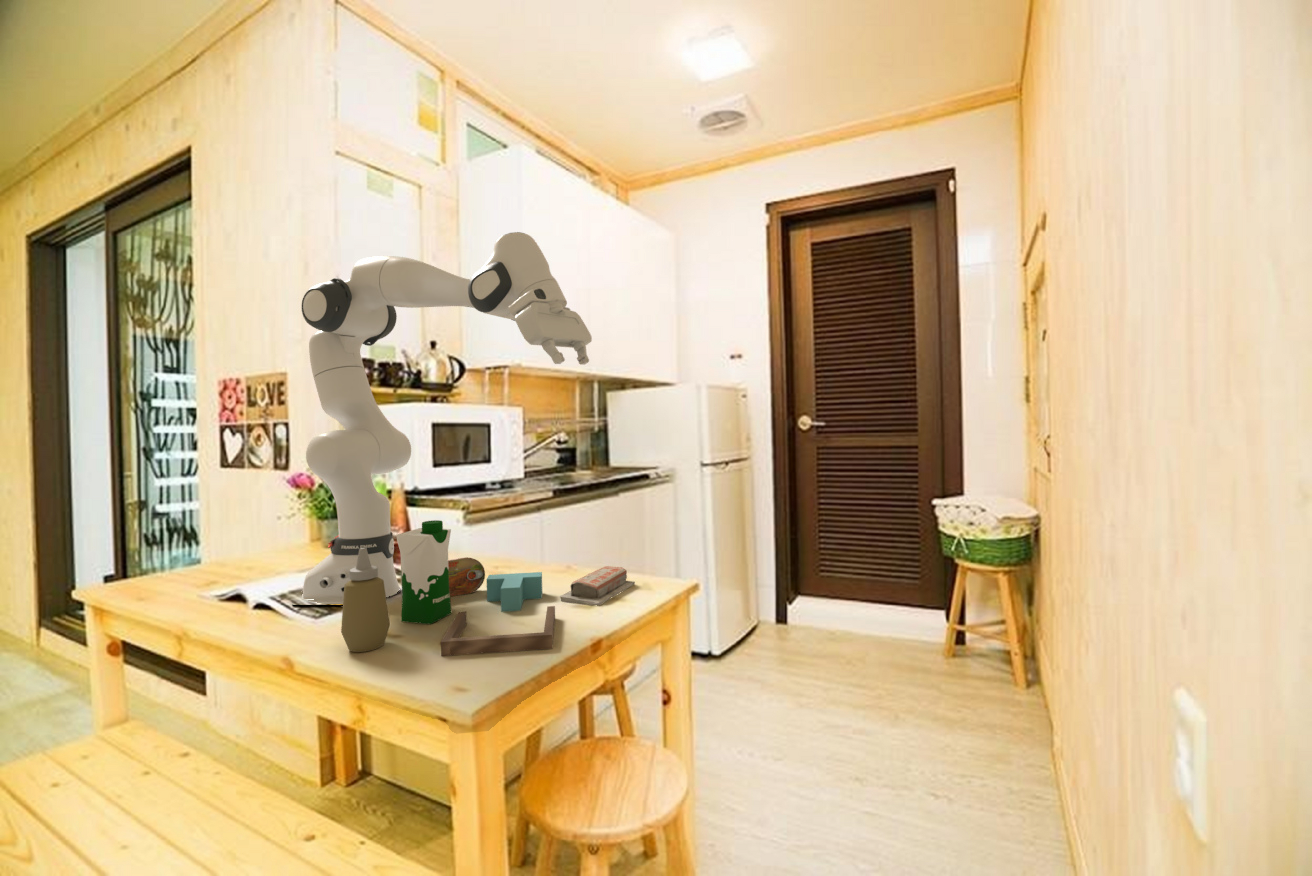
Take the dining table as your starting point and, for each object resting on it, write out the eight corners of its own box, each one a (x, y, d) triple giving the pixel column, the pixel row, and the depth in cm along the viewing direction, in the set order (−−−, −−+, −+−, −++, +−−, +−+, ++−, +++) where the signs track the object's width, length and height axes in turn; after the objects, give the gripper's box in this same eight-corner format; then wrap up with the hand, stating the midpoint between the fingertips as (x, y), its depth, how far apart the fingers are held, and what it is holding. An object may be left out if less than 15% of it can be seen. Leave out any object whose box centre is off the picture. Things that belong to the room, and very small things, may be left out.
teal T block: (481, 612, 130) (481, 589, 129) (489, 596, 141) (488, 574, 141) (539, 609, 131) (538, 586, 131) (542, 593, 143) (541, 572, 143)
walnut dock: (441, 656, 106) (440, 642, 106) (458, 624, 123) (458, 611, 123) (552, 648, 109) (551, 634, 109) (555, 618, 125) (554, 606, 125)
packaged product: (598, 563, 153) (634, 566, 149) (599, 582, 153) (635, 586, 149) (558, 581, 136) (598, 586, 132) (559, 603, 137) (598, 608, 132)
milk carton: (431, 626, 122) (428, 526, 121) (393, 622, 124) (389, 524, 123) (458, 612, 130) (454, 518, 129) (421, 609, 133) (418, 517, 132)
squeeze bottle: (372, 656, 107) (368, 554, 106) (331, 654, 108) (327, 553, 107) (399, 639, 115) (396, 544, 114) (361, 637, 116) (357, 543, 115)
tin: (418, 602, 138) (417, 565, 138) (416, 598, 141) (415, 562, 141) (486, 591, 146) (484, 556, 145) (482, 588, 148) (481, 553, 148)
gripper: (560, 316, 137) (587, 370, 135) (502, 307, 118) (532, 370, 117) (581, 301, 134) (609, 356, 133) (525, 289, 116) (556, 353, 114)
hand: (573, 363), depth 125 cm, fingers open, 8 cm apart
